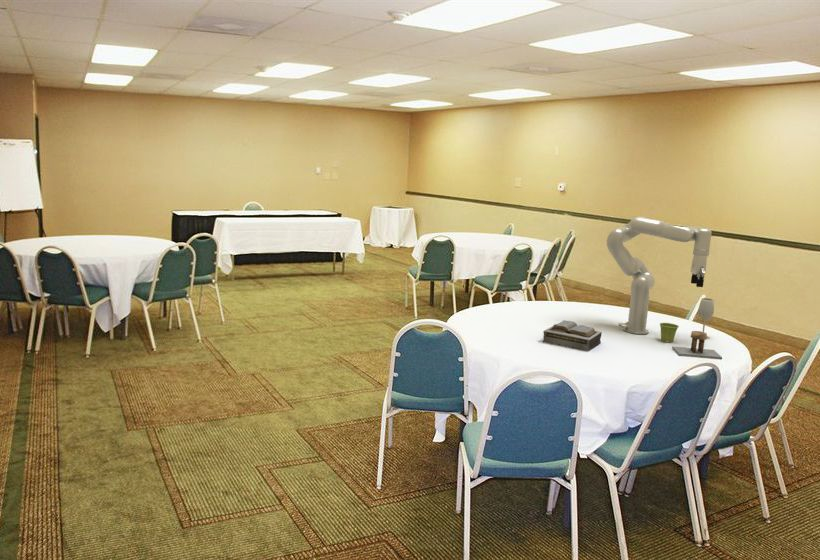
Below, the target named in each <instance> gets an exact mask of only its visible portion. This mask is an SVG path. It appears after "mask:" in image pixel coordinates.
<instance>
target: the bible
mask: <svg viewBox="0 0 820 560" xmlns="http://www.w3.org/2000/svg"><path fill="white" fill-rule="evenodd" d="M542 333H543V339H542V343H545V342H546V343H545V344H551V345H555V346H559V345H560V346H561V347H565V348H567V347H568V348H573V349H575V350H579V351H580V350H581V351H586V352H591V351H592V350H594V349H595V348H596V347H598V346H599V345H601V344H602V343H601V342H602V341H601V338H602V333H603V332H602V331H598V330H595V328H594V327H593V326H588V325H585V324H584V325H583V324H579V325H578V323H577V322H576V321H571V320H565V319H564V320H562V321H560V322H558V323H554V324H553V325H551V326H550V327H548V328H546V329H544V330H543V332H542Z"/></svg>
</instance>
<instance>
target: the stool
mask: <svg viewBox="0 0 820 560" xmlns="http://www.w3.org/2000/svg"><path fill="white" fill-rule="evenodd" d="M707 336H708V333H706V332H705V331H704V332H703V331H701V330H700V331H699V330H692V331H691V332H690V338H691V342H690V343H691V344H690V348H691V351H693V353H696V348H698V351H700V353H703V349H705V348H704V347H705V341H706V340H707V339H706V337H707ZM697 345H698V346H697Z"/></svg>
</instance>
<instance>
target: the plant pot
mask: <svg viewBox="0 0 820 560" xmlns="http://www.w3.org/2000/svg"><path fill="white" fill-rule="evenodd" d="M659 327H660V340H661V341H663V342H664V341H665V343H673V342H674V340H675V336H676V333H677V330H678V328H679V327H680V326H679V325H678V324H675V323H670V322H660V323H659Z"/></svg>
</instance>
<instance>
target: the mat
mask: <svg viewBox="0 0 820 560" xmlns="http://www.w3.org/2000/svg"><path fill="white" fill-rule="evenodd" d="M672 348H673V349H672ZM671 349H672V350H673V351H674V353H676V354H677V355H678V356H679V357H689V356H690V357H689V358H705V359H717V360H723V357H722V355H720V354H719V353H718V352H717V351H716V350H715V349H707V348H703V353H700V351H698V347H696V353H693V351H691V347H684V346H674V345H673V346H671Z"/></svg>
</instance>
